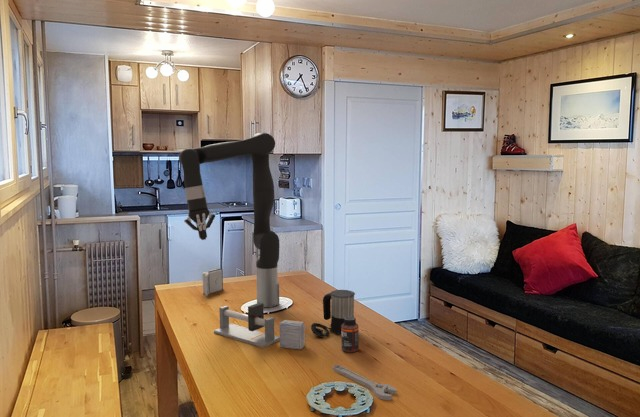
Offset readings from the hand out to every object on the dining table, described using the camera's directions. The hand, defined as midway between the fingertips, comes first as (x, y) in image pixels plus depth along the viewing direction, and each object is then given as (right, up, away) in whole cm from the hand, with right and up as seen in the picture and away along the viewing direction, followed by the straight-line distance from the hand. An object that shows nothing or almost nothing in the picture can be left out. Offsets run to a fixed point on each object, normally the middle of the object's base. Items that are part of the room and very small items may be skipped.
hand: (203, 239), depth 209 cm
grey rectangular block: (-4, -28, +37) cm, 47 cm away
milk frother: (+52, -34, -16) cm, 65 cm away
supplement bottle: (+58, -36, -33) cm, 76 cm away
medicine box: (+38, -36, -30) cm, 60 cm away
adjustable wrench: (+61, -39, -57) cm, 92 cm away
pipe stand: (+20, -34, -20) cm, 45 cm away
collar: (+24, -31, -24) cm, 46 cm away
